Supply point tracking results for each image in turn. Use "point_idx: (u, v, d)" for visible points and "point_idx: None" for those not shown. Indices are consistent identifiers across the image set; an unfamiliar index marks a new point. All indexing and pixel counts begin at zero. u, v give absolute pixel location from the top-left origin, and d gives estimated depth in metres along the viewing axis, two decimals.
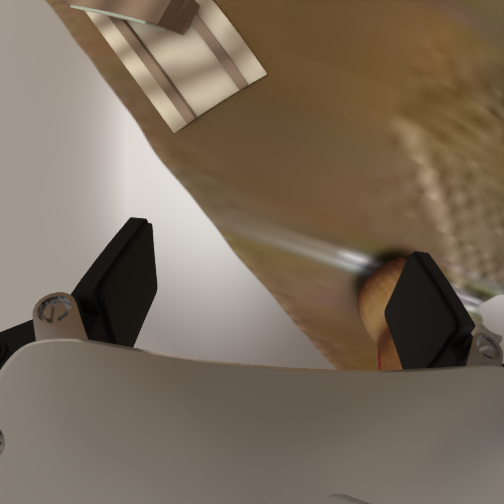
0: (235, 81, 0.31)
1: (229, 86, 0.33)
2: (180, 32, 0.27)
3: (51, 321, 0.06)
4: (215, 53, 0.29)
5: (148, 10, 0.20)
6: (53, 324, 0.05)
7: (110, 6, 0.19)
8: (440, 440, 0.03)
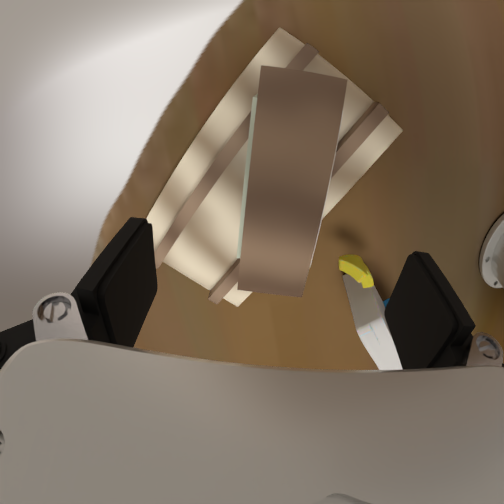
0: (214, 294, 0.33)
1: (208, 280, 0.34)
2: None
3: (51, 321, 0.06)
4: (237, 268, 0.31)
5: (255, 272, 0.20)
6: (53, 324, 0.05)
7: (255, 209, 0.17)
8: (440, 440, 0.03)
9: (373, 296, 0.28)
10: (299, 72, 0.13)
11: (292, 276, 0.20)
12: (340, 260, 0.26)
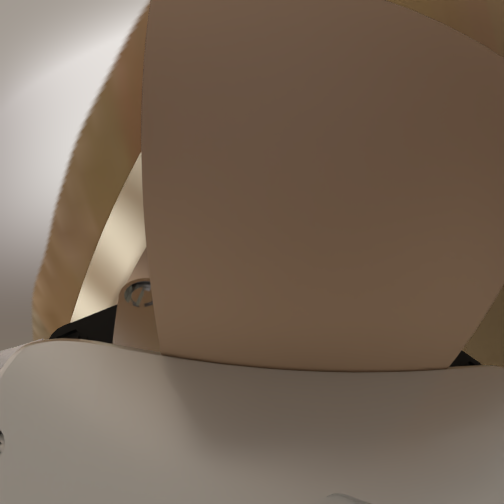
0: None
1: None
2: None
3: (137, 305, 0.07)
4: None
5: None
6: (138, 308, 0.06)
7: None
8: (440, 440, 0.03)
9: None
10: (393, 15, 0.02)
11: None
12: None
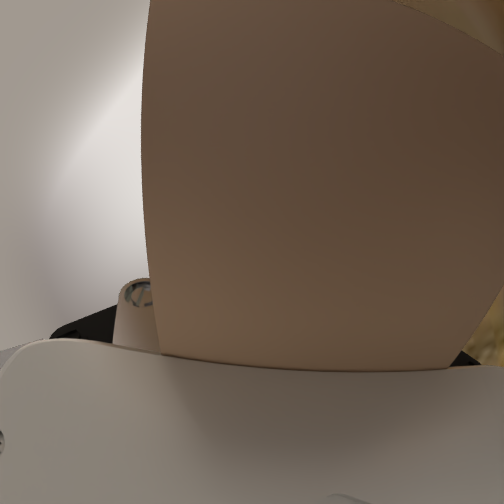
0: None
1: None
2: None
3: (137, 305, 0.07)
4: None
5: None
6: (138, 308, 0.06)
7: None
8: (440, 440, 0.03)
9: None
10: (393, 13, 0.02)
11: None
12: None
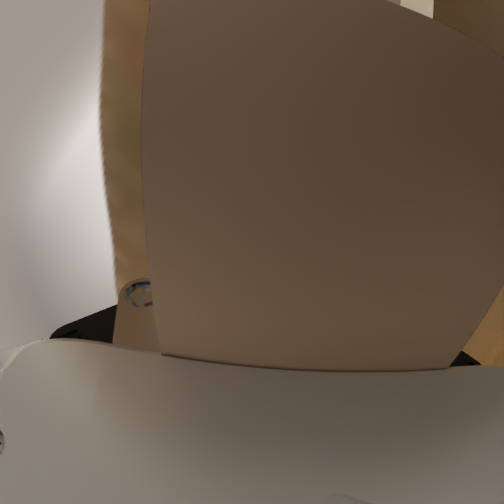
0: None
1: None
2: None
3: (137, 305, 0.07)
4: None
5: None
6: (138, 308, 0.06)
7: None
8: (440, 440, 0.03)
9: None
10: (393, 14, 0.02)
11: None
12: None
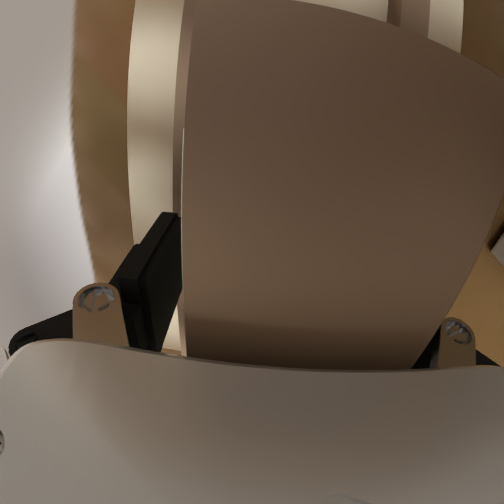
0: None
1: None
2: None
3: (91, 310, 0.06)
4: None
5: None
6: (93, 314, 0.06)
7: None
8: (440, 440, 0.03)
9: None
10: (377, 28, 0.02)
11: None
12: None
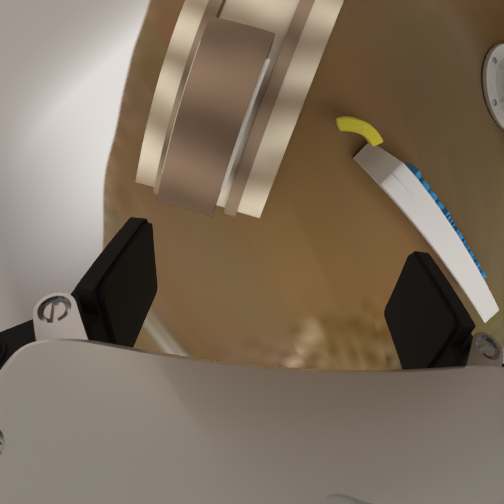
0: (228, 204, 0.30)
1: (219, 196, 0.31)
2: None
3: (51, 321, 0.06)
4: (241, 164, 0.28)
5: (174, 184, 0.21)
6: (53, 324, 0.05)
7: (181, 126, 0.19)
8: (440, 440, 0.03)
9: (387, 154, 0.24)
10: (237, 24, 0.15)
11: (205, 193, 0.22)
12: (337, 120, 0.23)
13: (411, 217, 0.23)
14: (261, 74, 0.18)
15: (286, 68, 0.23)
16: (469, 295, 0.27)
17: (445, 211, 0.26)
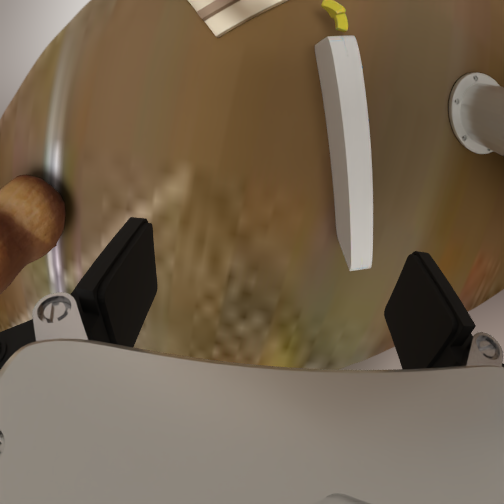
0: (205, 8, 0.25)
1: (202, 5, 0.26)
2: None
3: (51, 321, 0.06)
4: None
5: None
6: (53, 324, 0.05)
7: None
8: (440, 440, 0.03)
9: None
10: None
11: None
12: None
13: (337, 72, 0.23)
14: None
15: None
16: (351, 207, 0.31)
17: None
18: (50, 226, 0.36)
